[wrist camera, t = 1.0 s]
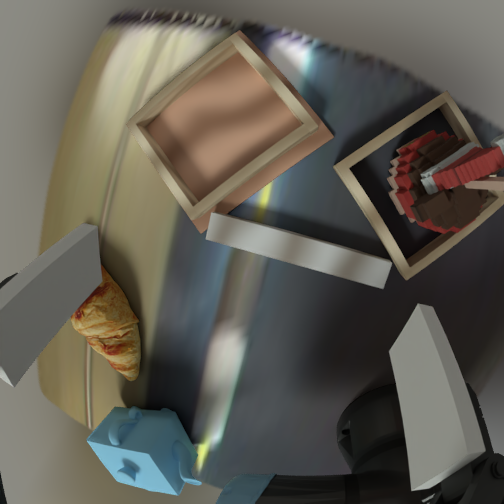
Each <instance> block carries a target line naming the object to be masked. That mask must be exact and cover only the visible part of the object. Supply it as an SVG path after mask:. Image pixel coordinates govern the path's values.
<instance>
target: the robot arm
mask: <svg viewBox="0 0 504 504" xmlns="http://www.w3.org/2000/svg"><path fill="white" fill-rule="evenodd" d="M101 282H102V273H101V263H100V253H99V240H98V226H94V225H90V224H86V223H83V224H81V225H80V226H78V227H77V228H76V229H74V230H73V231H71V232H70V233H69V234H67V235H66V236H65V237H63V238H62V239H61V240H59V241H58V242H57V243H55V244H54V245H53V246H51V247H50V248H49V249H48V250H46V251H45V252H44V253H43V254H41V255H40V256H39V257H37V258H36V259H35V260H34V261H33V262H31V263H30V264H29V265H28V266H26V267H25V268H24V269H23V270H22V271H21V272H19V273H16V274H14V275H12V276H10V277H8V278H6V279H5V280H3V281H2V282H1V283H0V378H2V379H3V380H4V381H6V382H7V383H8V384H10V385H11V386H13V387H15V386H16V384H17V383H18V382H19V381H20V379H21V378H22V376H23V375H24V374H25V372H26V371H27V370H28V369H29V367H30V366H31V365H32V363H33V362H34V361H35V359H36V358H37V357H38V356H39V354H40V353H41V352H42V351H43V349H44V348H45V347H46V346H47V344H48V343H49V342H50V341H51V340H52V338H53V337H54V336H55V335H56V333H57V332H58V331H59V330H60V329H61V327H62V326H63V325H64V324H65V323H66V322H67V320H68V319H69V318H70V317H71V316H72V315H73V313H74V312H75V311H76V310H77V309H78V308H79V307H80V305H81V304H82V303H83V302H84V301H85V300H86V299H87V298H88V297H89V295H90V294H91V293H92V292H93V291H94V290H95V289H96V288H97V287H98V286H99V284H100V283H101ZM389 354H390V358H391V363H392V367H393V372H394V377H395V381H396V384H394V385H388V386H384V387H381V388H378V389H375V390H373V391H370V392H368V393H366V394H365V395H363V396H361V397H360V398H358V399H357V400H355V401H354V402H353V403H352V404H351V405H349V406H348V407H347V409H346V410H345V411H344V412H343V414H342V415H341V417H340V419H339V421H338V424H337V443H338V446H339V449H340V451H341V453H342V455H343V457H344V458H345V460H346V462H347V464H348V466H349V468H350V469H351V472H352V474H346V475H325V476H289V475H277V474H276V473H272V474H270V475H264V474H241V475H238V476H236V477H234V478H233V479H232V480H230V481H229V482H228V484H227V485H226V486H225V488H224V489H223V491H222V492H221V494H220V496H219V498H218V500H217V502H216V504H504V456H503V455H501V454H499V453H494V451H493V448H492V445H491V441H490V437H489V434H488V430H487V427H486V424H485V421H484V418H482V416H483V414H482V411H481V408H479V406H480V405H479V402H478V399H477V396H476V394H475V392H474V391H473V389H472V388H471V387H470V385H469V384H468V383H465V382H464V379H463V377H462V374H461V371H460V369H459V366H458V363H457V361H456V358H455V356H454V353H453V351H452V349H451V346H450V344H449V342H448V339H447V337H446V335H445V332H444V330H443V328H442V326H441V323H440V321H439V319H438V317H437V315H436V313H435V311H434V308H433V307H432V306H427V305H422V304H418V305H417V306H416V308H415V310H414V312H413V313H412V315H411V317H410V318H409V320H408V322H407V323H406V325H405V327H404V328H403V330H402V332H401V333H400V335H399V337H398V338H397V340H396V341H395V343H394V344H393V346H392V348H391V349H390V351H389ZM0 504H7V501H6V497H5V493H4V489H3V484H2V479H1V473H0Z"/></svg>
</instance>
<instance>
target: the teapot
mask: <svg viewBox="0 0 504 504" xmlns="http://www.w3.org/2000/svg"><path fill="white" fill-rule="evenodd" d="M87 442H88V443H89V445H90V446H91V447H92V449H93V450H94V452H95V453H96V454H97V456H98V457H99V459H100V460H101V461H102V463H103V464H104V465H105V467H106V468H107V469H108V470H109V472H110V473H111V474H112V475H113V477H114V478H115V479H116V480H117V481H118V482H121V483H124V484H128V485H132V486H136V487H140V488H144V489H146V490H149V491H158V492H163V493H168V494H173V495H179V494H180V493H181V490H182V488H183V486H184V484H185V482H188V483H190V484H195V485H201V484H202V483H201V482H200V481H198V480H197V479H195V478H194V477H193V476H192V473H191V469H192V467H193V465H194V463H195V461H196V458H197V456H198V454H197V452H196V450H195V449H194V447H193V445H192V443H191V441H190V439H189V437H188V435H187V434H186V432H185V430H184V428H183V426H182V424H181V422H180V420H179V418H178V416H177V414H176V412H175V411H171V410H170V409H167V408H162V409H161V411H159V410H145V409H140V408H139V407H137V406H132V407H131V408H123V407H114V409H113V410H112V411H111V412H110V413H109V414H108V415H107V417H106V418H105V419H104V420H103V421H102V422H101V423H100V424H99V426H98V427H97V428H96V429H95V430H94V431H93V432H92V434H91V435H90V436H89V437H88V438H87Z"/></svg>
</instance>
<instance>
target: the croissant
mask: <svg viewBox="0 0 504 504" xmlns="http://www.w3.org/2000/svg"><path fill="white" fill-rule="evenodd" d="M101 273H102V282H101V283H100V284H99V286H98V287H97V288H96V289H95V290H94V291H93V292H92V293H91V294H90V295H89V297H88V298H87V299H86V300H85V301H84V302H83V303H82V304H81V305H80V307H79V308H78V309H77V310H76V311H75V312H74V313H73V315H72V316H71V321H72V325H73V327H74V329H75V330H77V331H78V332H79V333H80V334H82V335H85V336H86V339H87V341H88V343H89V345H91V346H92V348H93V349H95V350H96V351H97V352H98V353H100V354H102V355H103V356H104V357H105V358H106V359H107V360H108V361H109V363H110V365H111V366H112V367H113V368H114V369H116V370H117V371H119V372H120V373H122V374H123V375H124V376H125V377H126V378H127V379H128V380H129V381H134V380H136V379H137V377H138V375H139V370H140V368H139V365H140V360H141V347H140V336H139V330H138V324H137V323H138V322H139V319H138V318H137V317H136V316H135V314H134V313H133V311H132V310H131V309H130V305H129V303H128V299H127V298H126V296H125V294H124V293H123V291H122V289H121V288H120V287H119V285H118V284H117V283H116V282H115V281H114V280H113V279H112V277H111V276H110V275H109V274H108V273H107V271H106V270H105V268H104V267H103V266H102V265H101Z"/></svg>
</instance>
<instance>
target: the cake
mask: <svg viewBox="0 0 504 504" xmlns="http://www.w3.org/2000/svg"><path fill="white" fill-rule="evenodd" d="M490 144H491V146H492V147H490V148H485V149H482V148H481V147H479V145H478V144H475V143H474V142H471V143H468V144H466V142H465V140H463V138H461V139H457V137H456V136H455V135H452V136H449V135H448V134H447V132H443V133H441V134H438V135H437V134H436V132H435V131H434V130H432V131H430V132H427V133H426V134H424V135H422V136H420V137H419V138H415V139H414V140H412V141H410V142H409V143H407V144H405V145H404V146H402V147H400V148H399V149H397V152H398V154H399V156H398V157H396V158H395V159H393V160H391V161H390V162H391V164H392V166H393V167H392V168H391V169H389V172H390V173H391V176H390V177H388V178H387V180H388V182H389V183H390V185H391V187H392V189H393V190H391V191H390V192H388V193H389V195H390V197H391V199H392V201H393V202H394V204H395V206H396V208H397V210H398V212H399V214H400V215H402V214H404V213H406V215H407V217H408V218H409V220H410V222H412V223H413V222H414V221H416V222H417V224H418V225H419V226H422V227H424V228H427V229H431V230H433V231H436V232H437V231H438V232H440V233H443V234H445V233H447V232H448V231H453V232H455V233H458V232H460V231H461V230H462V229H464V228H465V227H467V226H468V225H469V224H471V223H472V222H473V221H475V220H476V218H477V217H478V216H479V215H480V212H479V210H481V208H482V207H483V206H482V205H483V204H484V203H486V202H487V200H486V198H485V197H487V196H488V194H487V193H488V192H489V191H488V190H500V191H504V177H489V176H490V175H496V174H497V173H498V172H500V171H501V170H502V169H504V134H502V135H501V136H498V137H497V138H495V139H494V140H492V141H491V143H490Z"/></svg>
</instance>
